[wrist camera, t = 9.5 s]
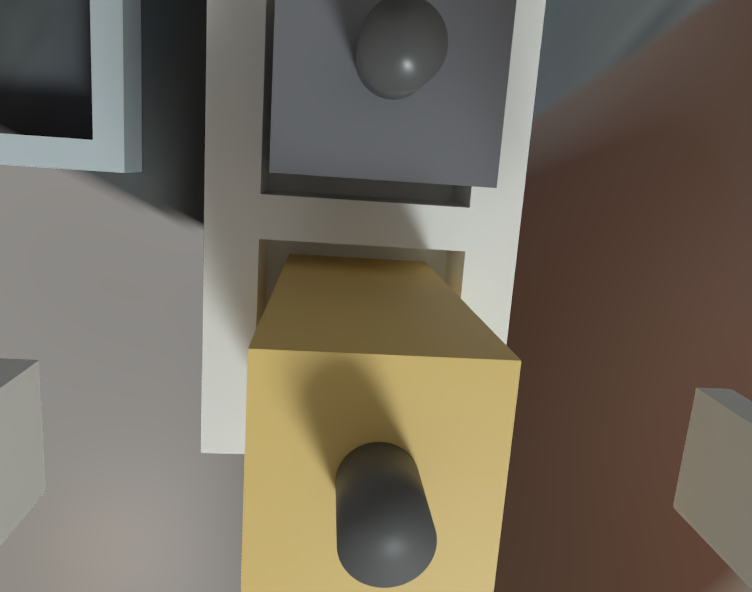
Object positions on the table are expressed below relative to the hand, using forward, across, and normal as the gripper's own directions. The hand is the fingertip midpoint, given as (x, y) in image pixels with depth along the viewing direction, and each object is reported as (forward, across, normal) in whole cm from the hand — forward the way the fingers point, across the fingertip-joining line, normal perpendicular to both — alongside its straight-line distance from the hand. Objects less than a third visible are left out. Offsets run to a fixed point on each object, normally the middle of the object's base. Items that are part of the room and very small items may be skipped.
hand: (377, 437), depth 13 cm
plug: (+11, 0, -1) cm, 11 cm away
